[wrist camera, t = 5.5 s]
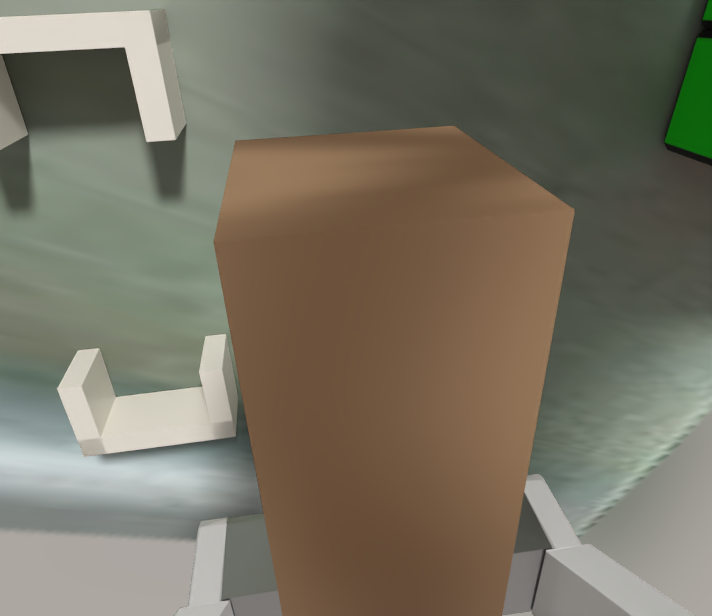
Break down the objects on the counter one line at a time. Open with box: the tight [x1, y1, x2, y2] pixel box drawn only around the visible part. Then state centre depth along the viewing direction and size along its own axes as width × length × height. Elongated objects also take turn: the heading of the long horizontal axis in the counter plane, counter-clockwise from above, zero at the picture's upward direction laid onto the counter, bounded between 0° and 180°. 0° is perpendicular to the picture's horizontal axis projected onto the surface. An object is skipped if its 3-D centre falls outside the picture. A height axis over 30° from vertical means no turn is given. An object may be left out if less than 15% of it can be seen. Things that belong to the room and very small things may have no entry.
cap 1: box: [0, 10, 186, 150], centre depth 19 cm, size 7×4×3 cm, turn 92°
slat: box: [214, 126, 575, 616], centre depth 10 cm, size 4×14×4 cm, turn 2°
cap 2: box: [57, 334, 238, 457], centre depth 26 cm, size 7×4×3 cm, turn 92°
